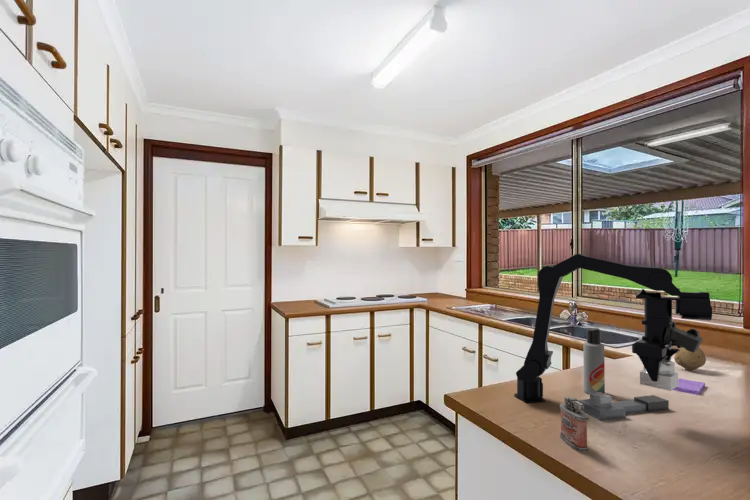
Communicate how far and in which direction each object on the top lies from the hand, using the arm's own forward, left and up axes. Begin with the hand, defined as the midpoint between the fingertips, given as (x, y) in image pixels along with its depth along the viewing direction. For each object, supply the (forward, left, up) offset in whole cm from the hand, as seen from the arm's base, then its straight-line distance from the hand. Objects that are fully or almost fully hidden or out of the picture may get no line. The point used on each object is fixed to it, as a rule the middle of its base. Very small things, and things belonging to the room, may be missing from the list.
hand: (658, 378), depth 98 cm
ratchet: (-1, +9, -11) cm, 15 cm away
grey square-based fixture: (0, 0, -2) cm, 2 cm away
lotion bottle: (+2, +23, -12) cm, 26 cm away
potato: (+57, +35, -12) cm, 68 cm away
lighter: (-29, -4, -12) cm, 32 cm away
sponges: (+36, +20, -12) cm, 43 cm away
